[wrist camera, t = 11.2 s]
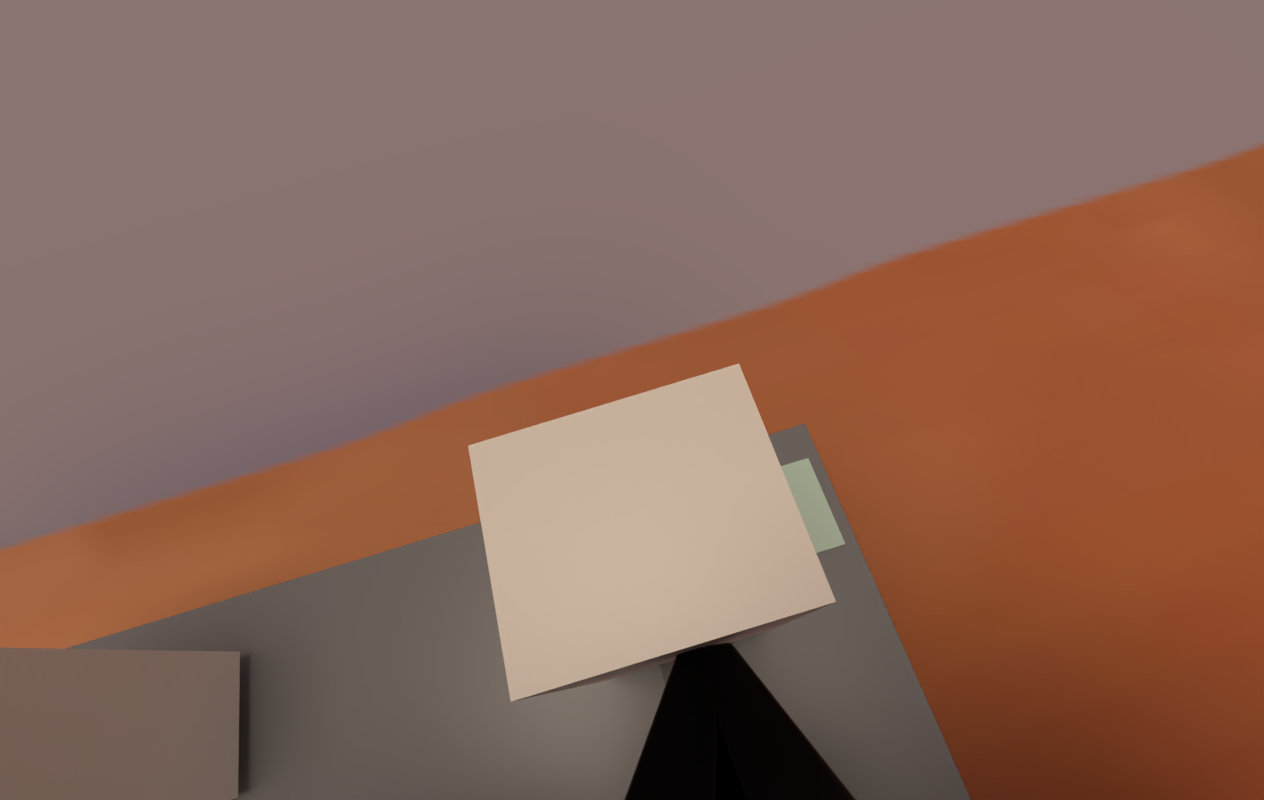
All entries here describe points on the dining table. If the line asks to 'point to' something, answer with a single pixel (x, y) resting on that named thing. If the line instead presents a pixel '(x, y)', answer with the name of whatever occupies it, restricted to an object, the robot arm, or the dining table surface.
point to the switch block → (546, 724)
